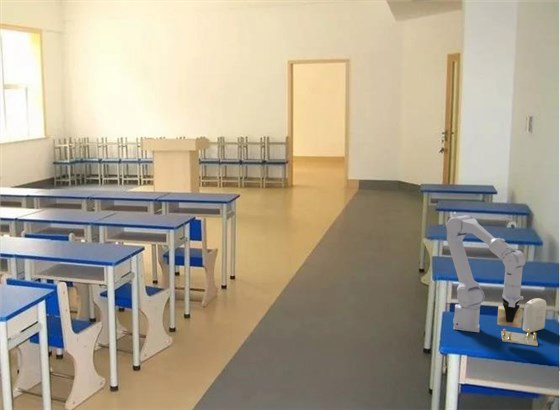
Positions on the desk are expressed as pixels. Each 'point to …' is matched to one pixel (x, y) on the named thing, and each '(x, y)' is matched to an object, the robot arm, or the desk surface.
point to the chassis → (519, 338)
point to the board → (502, 318)
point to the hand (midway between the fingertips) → (509, 320)
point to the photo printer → (534, 315)
